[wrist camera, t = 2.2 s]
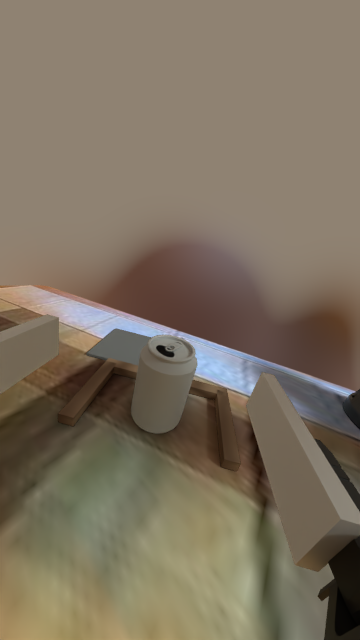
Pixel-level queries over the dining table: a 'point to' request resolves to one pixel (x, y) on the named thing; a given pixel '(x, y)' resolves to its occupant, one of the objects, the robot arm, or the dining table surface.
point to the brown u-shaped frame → (219, 394)
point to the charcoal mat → (120, 346)
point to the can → (162, 383)
